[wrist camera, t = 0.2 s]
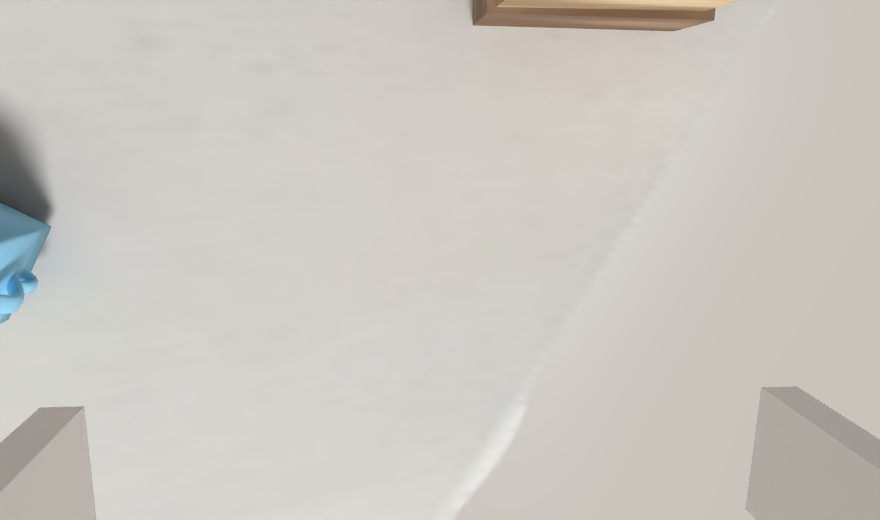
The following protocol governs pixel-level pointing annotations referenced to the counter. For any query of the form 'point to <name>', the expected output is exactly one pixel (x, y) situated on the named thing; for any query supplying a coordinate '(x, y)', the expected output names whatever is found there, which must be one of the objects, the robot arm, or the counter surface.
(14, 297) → the teapot
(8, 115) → the counter surface
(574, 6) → the oak block
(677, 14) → the walnut block
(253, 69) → the counter surface
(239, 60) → the counter surface
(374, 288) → the counter surface
